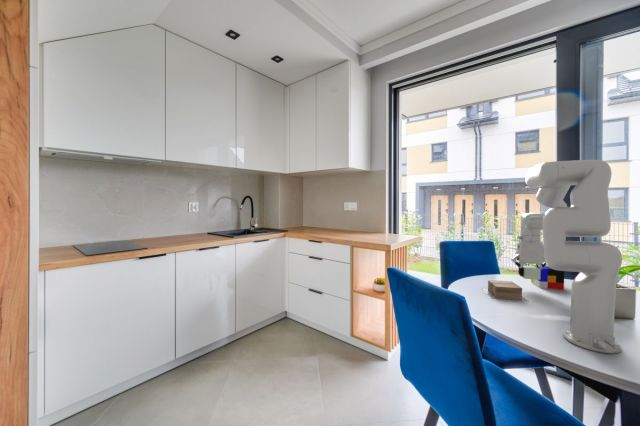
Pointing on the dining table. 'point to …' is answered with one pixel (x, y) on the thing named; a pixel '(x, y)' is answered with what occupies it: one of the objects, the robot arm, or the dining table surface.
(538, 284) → the puzzle toy
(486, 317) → the dining table surface
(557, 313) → the dining table surface
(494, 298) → the baseplate
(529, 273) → the sage brick
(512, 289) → the walnut block
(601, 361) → the dining table surface
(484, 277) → the dining table surface
